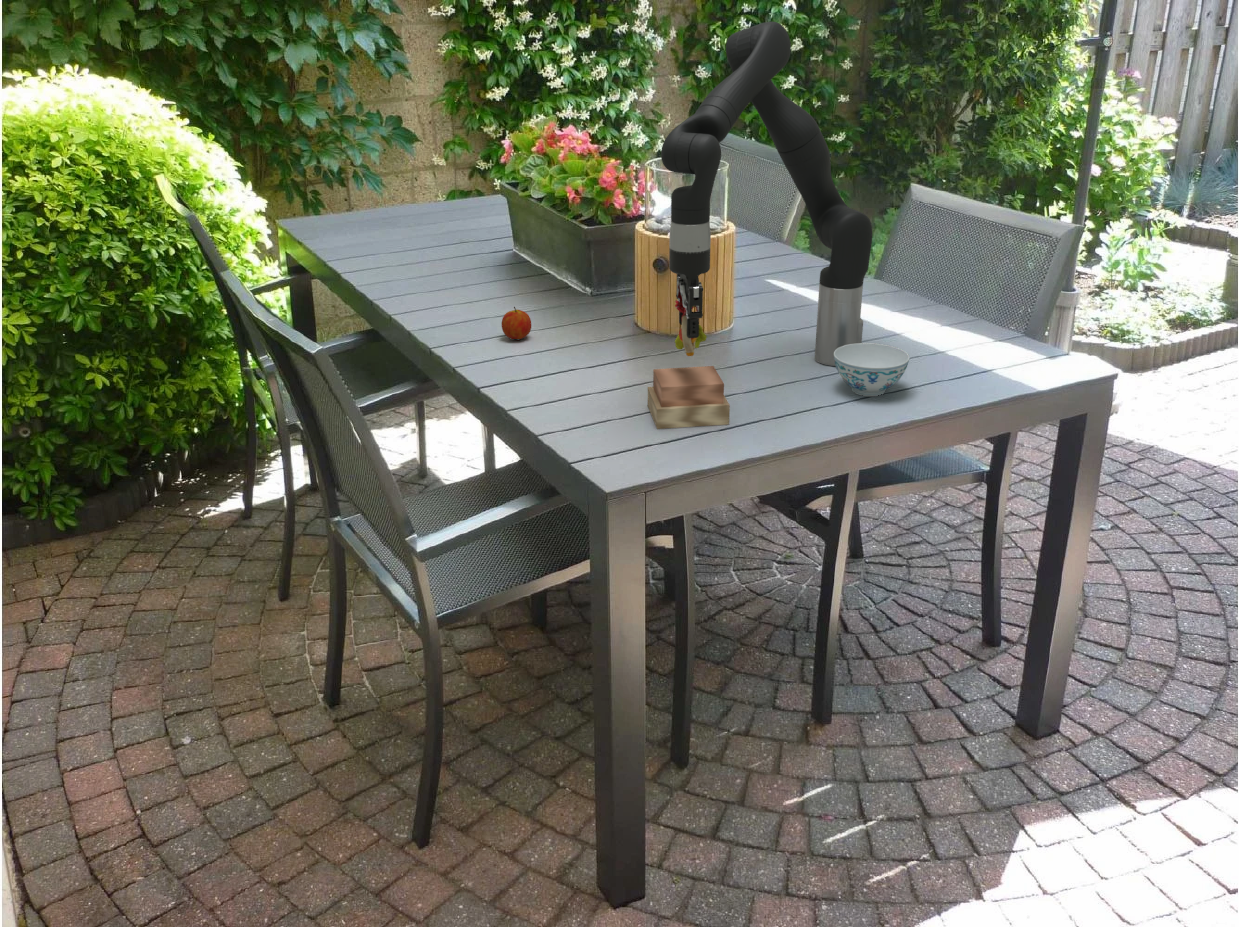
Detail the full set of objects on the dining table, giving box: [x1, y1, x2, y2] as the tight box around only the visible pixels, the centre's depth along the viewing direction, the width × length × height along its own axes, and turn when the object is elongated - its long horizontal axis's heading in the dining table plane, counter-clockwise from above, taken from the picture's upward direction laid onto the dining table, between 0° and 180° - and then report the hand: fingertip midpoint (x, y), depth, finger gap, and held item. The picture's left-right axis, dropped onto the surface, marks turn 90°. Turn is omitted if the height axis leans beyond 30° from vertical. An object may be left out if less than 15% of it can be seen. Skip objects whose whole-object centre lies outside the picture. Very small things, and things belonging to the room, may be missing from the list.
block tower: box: [647, 365, 731, 430], centre depth 216 cm, size 14×12×8 cm
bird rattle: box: [674, 299, 708, 357], centre depth 211 cm, size 6×11×9 cm
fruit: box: [501, 306, 532, 340], centre depth 259 cm, size 7×7×8 cm
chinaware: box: [834, 342, 910, 397], centre depth 227 cm, size 15×15×8 cm
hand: (688, 330), depth 211 cm, fingers closed on bird rattle, 7 cm apart
